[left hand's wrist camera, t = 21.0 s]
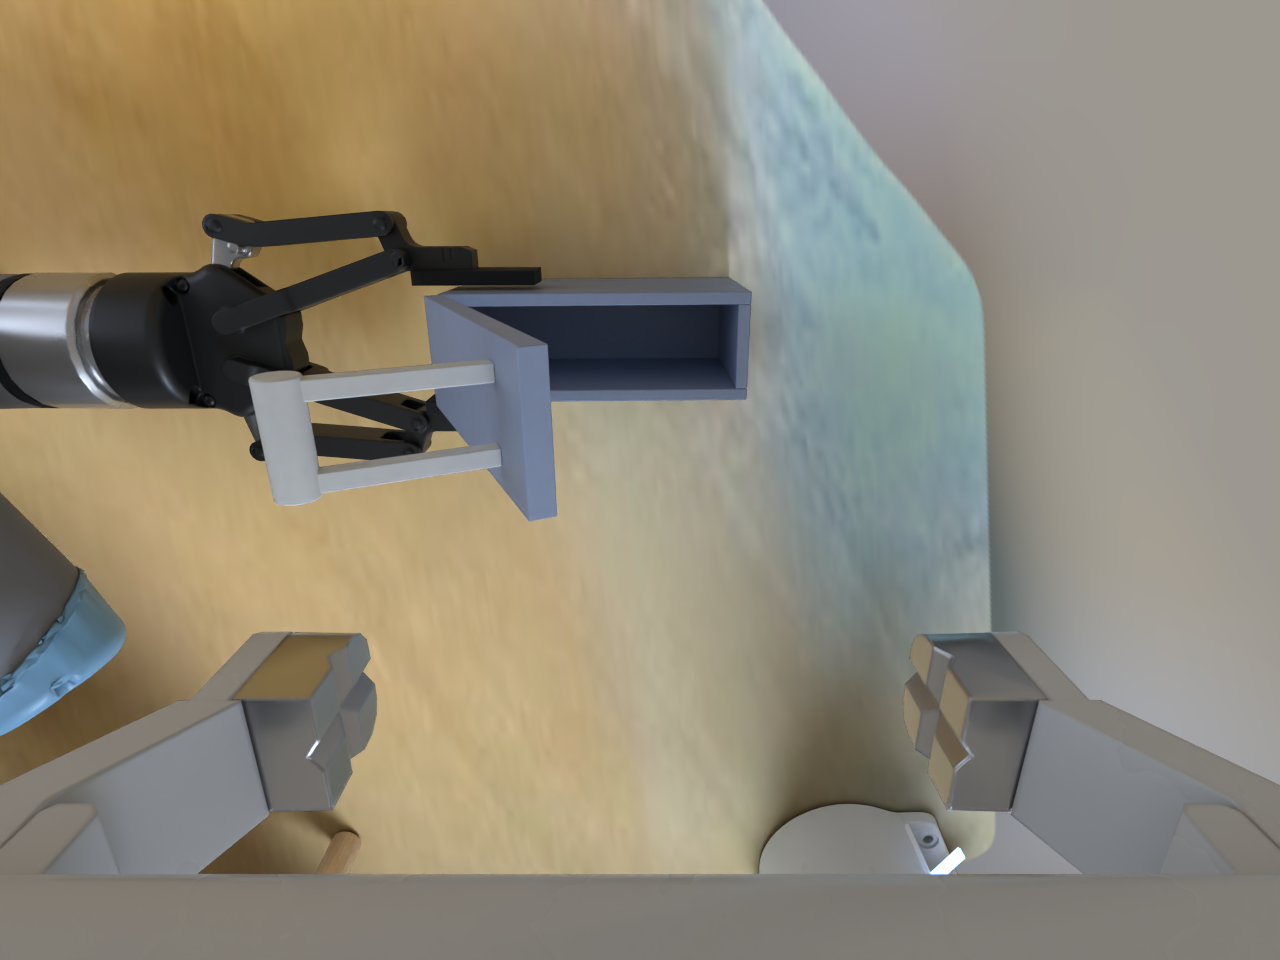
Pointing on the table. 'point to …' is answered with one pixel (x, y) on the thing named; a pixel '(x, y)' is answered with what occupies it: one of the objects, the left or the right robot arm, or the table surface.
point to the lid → (465, 393)
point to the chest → (630, 334)
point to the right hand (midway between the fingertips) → (540, 341)
